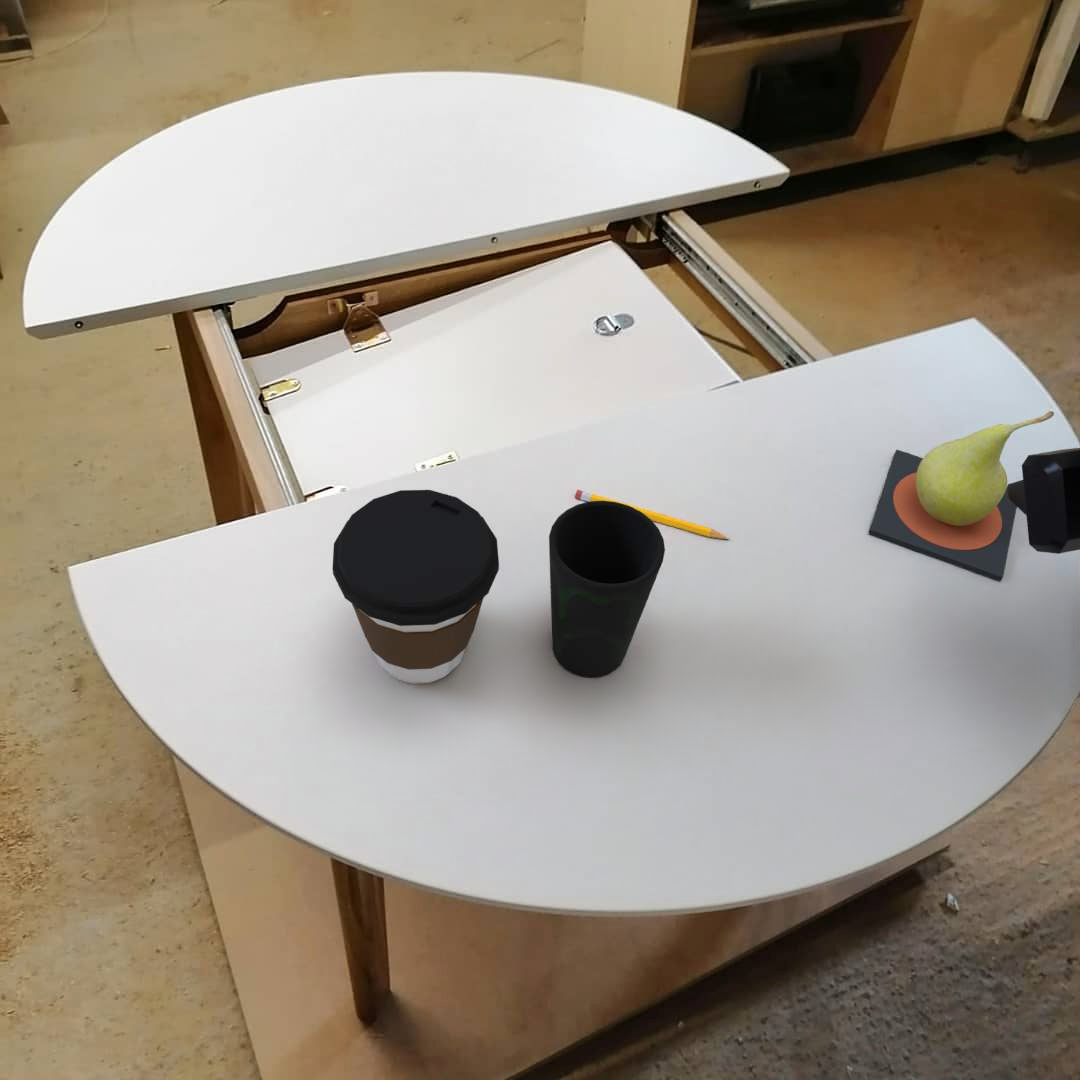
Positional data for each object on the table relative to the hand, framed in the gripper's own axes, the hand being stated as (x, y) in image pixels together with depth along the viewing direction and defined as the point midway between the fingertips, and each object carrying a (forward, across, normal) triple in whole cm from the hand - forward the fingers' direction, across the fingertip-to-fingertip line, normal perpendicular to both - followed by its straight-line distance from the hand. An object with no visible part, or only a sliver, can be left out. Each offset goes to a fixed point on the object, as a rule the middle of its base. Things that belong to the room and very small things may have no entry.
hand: (1064, 482), depth 73 cm
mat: (+14, 0, +3) cm, 14 cm away
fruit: (+14, 0, +3) cm, 14 cm away
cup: (+10, +34, +8) cm, 36 cm away
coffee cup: (+12, +47, +6) cm, 48 cm away
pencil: (+18, +25, 0) cm, 31 cm away
